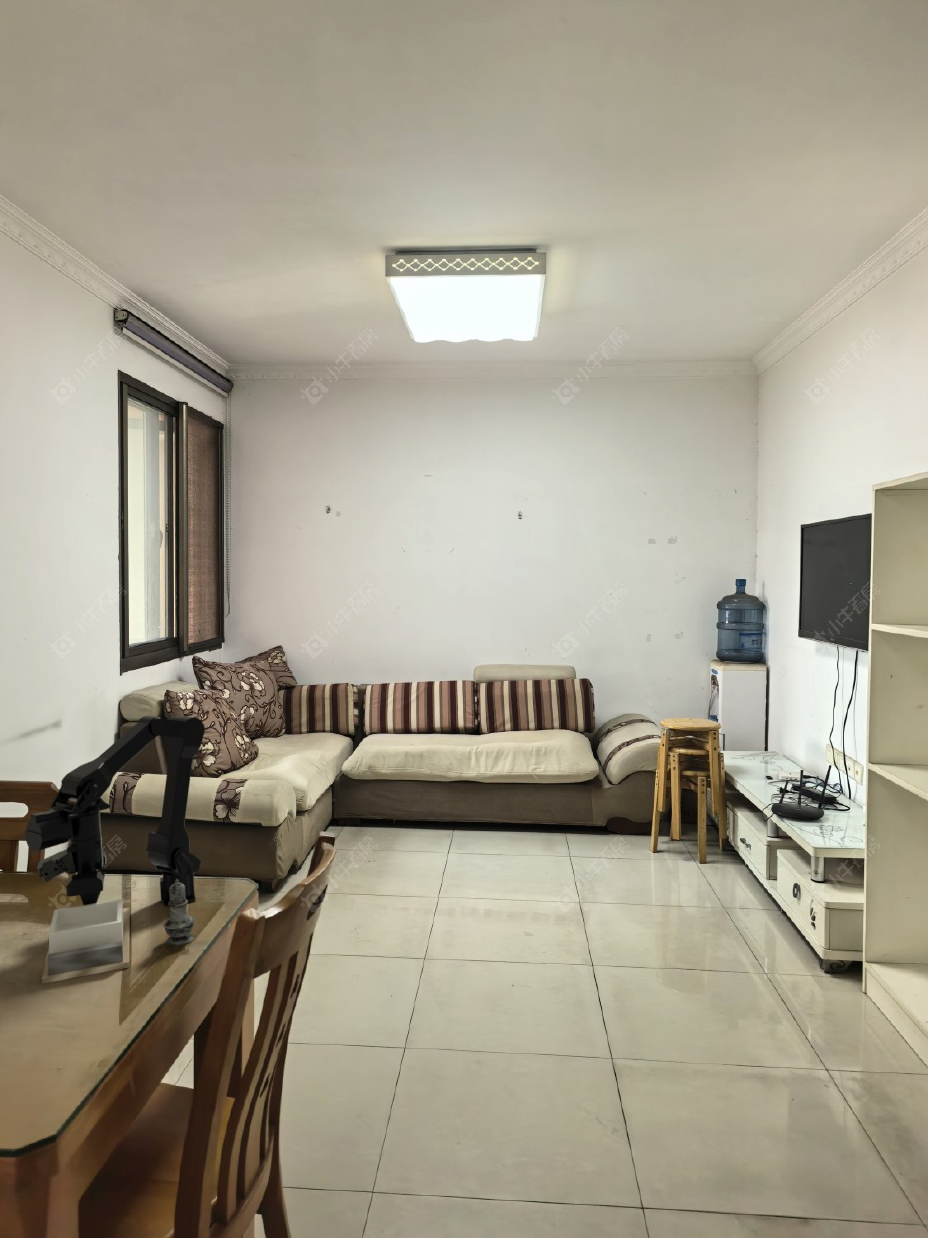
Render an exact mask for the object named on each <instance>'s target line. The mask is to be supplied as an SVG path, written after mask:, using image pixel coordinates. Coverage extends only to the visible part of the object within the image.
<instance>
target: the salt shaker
mask: <svg viewBox="0 0 928 1238" xmlns="http://www.w3.org/2000/svg"><path fill="white" fill-rule="evenodd" d="M178 881H179V880H178V879H176V881H175V882H176V883H174V884H173V885H171V886H170V889H169V891H170V902H169V903H168V905H167V906H168V907H169V917H168V918H167V919H166V920H165V921H164V922H163V923H162V927H163V928H164V930H165V931H164V932H165V933H166V934H167V935H168V936H169V937H167V939H166V940H165V945H166V944H167V946H169V947H180V945H181V946H184V945H183V944H185V945H187V944H186V943H188V942H190V941H192V940H193V939H194V940H195V935H194V934H192V933H191V931H192V930H193V927H194V923H195V922H196V919H195V917H193V916H191V915H188V911H187V904H188V903H189V902H188V900H187V899H186V898H185V885H184V884H182V883H179V882H178ZM194 940H193V941H194ZM193 941H192V942H193ZM190 943H191V942H190ZM188 944H189V943H188Z"/></svg>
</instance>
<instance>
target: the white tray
mask: <svg viewBox="0 0 928 1238" xmlns="http://www.w3.org/2000/svg"><path fill="white" fill-rule="evenodd" d="M123 905H124V904H123V899H122V898H120V899H119V898H118V899H113V900H107V901H100V902H97V903H94V904H88V905H83V904H82V905H77V906H71V907H62V908H58V909H57V908H56V909H54V910H53V914H52V919H51V923H50V927H49V932H48V943H49V945H48V948H49V947H50V954H52V953H58V952H63V951H69V950H74V949H80V948H86V947H91V946H97V945H102V944H108V943H114V942H119V941H122V943H123V907H124V906H123Z"/></svg>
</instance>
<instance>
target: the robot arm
mask: <svg viewBox="0 0 928 1238" xmlns="http://www.w3.org/2000/svg"><path fill="white" fill-rule="evenodd" d="M205 730H206V729H205V724H204V723H203V721H202V720H201V719H200V718H199V717H194V716H185V715H184V716H183V715H173V716H171V717H170V718H169V719H168V718H161V717H159V716H154V715H153V716H151V715H144V716H142V717H140V718H139V719H138V720H137V723H136V724H134V725H133V726H132V727H130V729H129V730H127V732H125V733H124V734H123V735H122V736H121V737H119V738H118V739H117V740H115V742H114V743H113V744H112V745H110V746H109V747H108V748H107V749H106V750H105V751H104V752H102V753H101V754H100V755H99V756H98V757H96V758H95V759H93V760H90V761H88V762H85V763H83V764H80V765H79V766H77V767H76V768H75V769H72V770H71V771H70V772H68V773H67V774H65V775H64V776H63V778H62V779H61V781H60V782H61V784H60V788H59V790H58V791H57V793H56V795H55V796H54V799H53V800H52V802H51V804H50V806H49V810H47V811H42V812H35V813H31V814H30V816H29V818H30V821H28V823H27V824H26V827H25V830H24V837H25V841H26V844H27V846H28V847H29V849H30V850H31V851H32V852H40V851H42V850H45V849H49V848H52V847H56V846H60V845H62V844H65V843H67V848H66V849H64V850H61V851H58V852H57V853H56V852H55V854H52V855H50V856H48V857H46V858H43V859H42V860H40V861H39V862H38V865H37V867H36V869H37V871H38V877H40V878H41V879H42V880H43V883H47V882H50V881H51V880H52V879H54V878H55V877H57V876H60V875H62V874H64V873H65V872H66V873H67V874H68V875H71V876H70V877H69V878H68V879H67V882H66V885H65V886H66V887H65V889H66V891H65V892H66V897H69V898H71V897H76V896H80V899H81V903H82V905H88V904H94V903H98V900H99V897H100V895H101V892H103V891H104V884H105V878H106V877H105V876H106V872H105V871H101V870H102V869H103V867H104V866H107V853H106V852H105V850H103V835H102V827H101V826H102V825H101V811H104V810H108V809H110V808H111V805H110V804H109V803H107V802H106V801H104V800H103V795H104V794H105V793H106V792H107V790H108V789H109V788H110V786H111V784H112V781H113V778H114V777H115V775H116V774H117V773H118V772H119V771H120V770H121V769H122V768H124V767H125V766H126V765H127V764H128V763H129V762H130V761H131V760H132V759H133V758H134V757H136V756H137V755H138V754H139V753H141V751H142V750H143V749H145V748H146V746H148V745H149V744H150V743H151V742H152V741H154V740H155V739H156V738H157V737H158V736H160V737H163V744H164V747H165V750H166V752H167V754H168V761H167V763H168V764H167V771H166V777H165V787H164V795H163V801H162V810H161V816H160V817H161V818H160V824H159V826H158V827H157V829H156V830H155V832H152V831H150V832H148V834H147V835H148V836H147V846H146V849H145V852H147V857H148V860H149V861H150V862H151V863H152V865H153V866H154V868H155V870H156V871H160V872H162V877H160V878H159V892H160V901H161V902H163V906H164V907H165V906H169V905H168V903H169V902H170V891H169V889H170V886H171V885H173V884H174V883H176V882H175V881H176V879H178V880H179V881H178V882H179V883H182V884H184V885H185V898H186V899H187V900H188V902H187V903H190V902H195V901H196V900H197V898H196V891H195V879H194V878H195V877H194V875H195V873H196V872H199V871H200V867H201V863H202V861H201V860H200V859H199V858H198V857H197V856H196V855H194V854H192V853H191V849H190V847H191V846H190V844H191V843H190V837H189V834H188V831H187V828H186V825H185V823H186V817H187V809H188V800H189V791H190V790H189V789H190V783H191V776H192V775H191V774H192V766H193V760H194V757H195V756H196V754H198V751H199V750H200V749H201V746H202V743H203V739H204V736H205ZM69 801H70V802H69ZM71 802H75V803H71Z"/></svg>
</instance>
